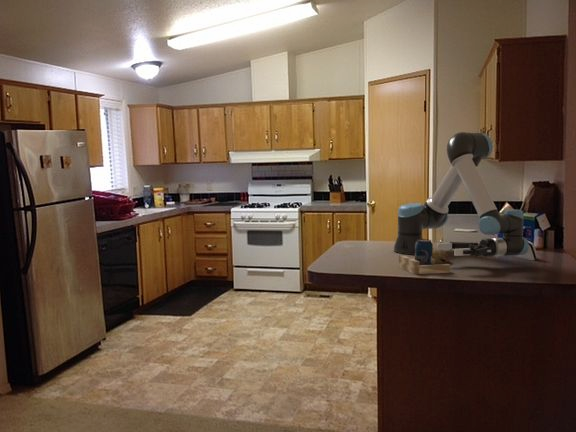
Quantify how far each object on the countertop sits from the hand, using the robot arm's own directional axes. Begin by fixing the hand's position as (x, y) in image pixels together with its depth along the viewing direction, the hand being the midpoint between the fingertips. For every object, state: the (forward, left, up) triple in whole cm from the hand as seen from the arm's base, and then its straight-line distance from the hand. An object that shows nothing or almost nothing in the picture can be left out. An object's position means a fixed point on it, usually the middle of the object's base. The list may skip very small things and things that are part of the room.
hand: (445, 249), depth 205 cm
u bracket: (0, -9, -8) cm, 12 cm away
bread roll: (-15, +4, -8) cm, 18 cm away
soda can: (-1, -9, -8) cm, 12 cm away
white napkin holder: (-16, +47, -8) cm, 50 cm away
